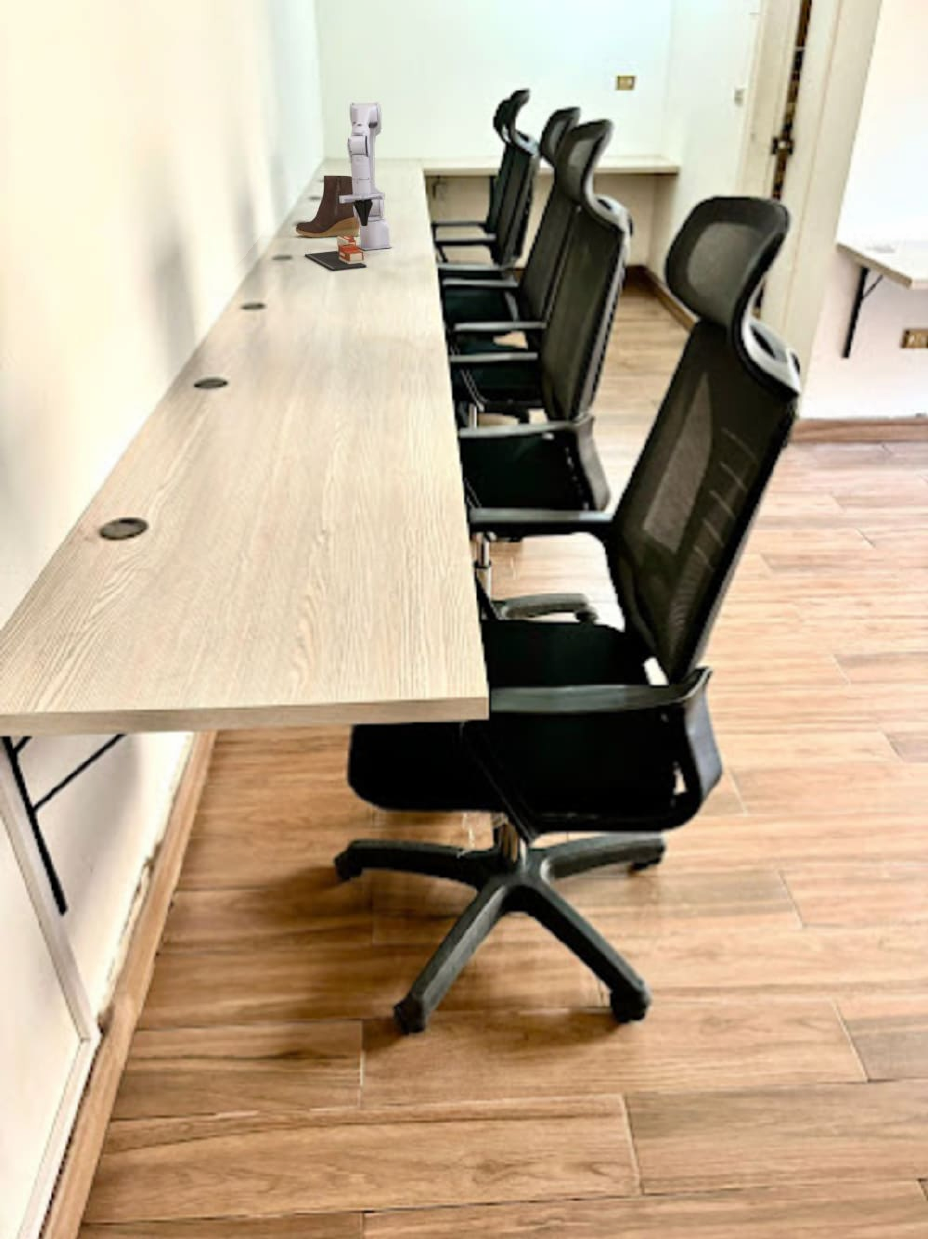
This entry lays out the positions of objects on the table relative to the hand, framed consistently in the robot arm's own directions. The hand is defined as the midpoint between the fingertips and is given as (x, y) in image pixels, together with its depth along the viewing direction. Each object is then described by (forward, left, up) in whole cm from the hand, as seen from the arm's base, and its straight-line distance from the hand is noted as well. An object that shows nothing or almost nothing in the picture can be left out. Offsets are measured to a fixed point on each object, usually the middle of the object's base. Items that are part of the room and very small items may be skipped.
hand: (364, 225), depth 302 cm
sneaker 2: (+5, +7, -7) cm, 11 cm away
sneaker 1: (+4, -7, -9) cm, 12 cm away
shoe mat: (+12, +2, -9) cm, 15 cm away
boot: (-2, -44, -10) cm, 45 cm away
